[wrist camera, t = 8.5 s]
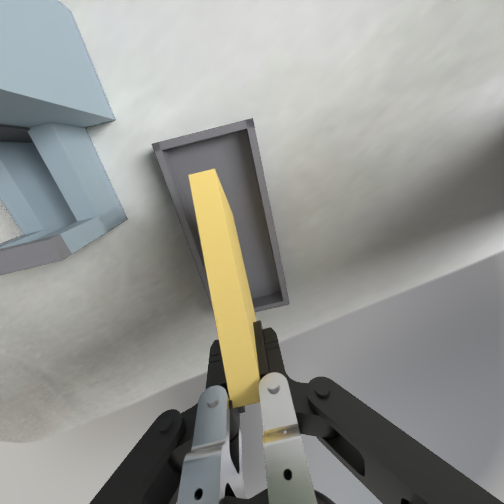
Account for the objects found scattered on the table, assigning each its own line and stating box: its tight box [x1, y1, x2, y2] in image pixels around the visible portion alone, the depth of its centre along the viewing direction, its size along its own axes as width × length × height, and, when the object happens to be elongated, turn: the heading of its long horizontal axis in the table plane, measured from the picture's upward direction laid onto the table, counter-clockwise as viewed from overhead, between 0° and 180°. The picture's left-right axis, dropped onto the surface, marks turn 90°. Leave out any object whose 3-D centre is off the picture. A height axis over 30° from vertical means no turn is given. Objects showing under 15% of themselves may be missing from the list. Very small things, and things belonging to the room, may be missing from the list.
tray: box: [152, 118, 289, 312], centre depth 20 cm, size 7×16×2 cm, turn 13°
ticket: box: [188, 169, 261, 408], centre depth 14 cm, size 1×11×6 cm
